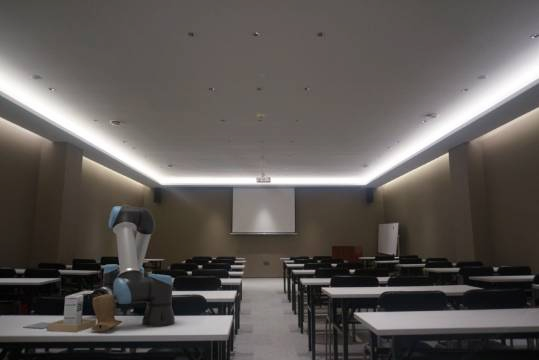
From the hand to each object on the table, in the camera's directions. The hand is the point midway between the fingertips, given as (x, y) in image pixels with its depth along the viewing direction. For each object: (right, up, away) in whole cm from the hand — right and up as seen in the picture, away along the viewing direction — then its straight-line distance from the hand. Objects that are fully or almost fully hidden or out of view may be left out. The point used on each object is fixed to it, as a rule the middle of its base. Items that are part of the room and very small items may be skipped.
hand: (81, 300), depth 184 cm
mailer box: (+3, -10, -5) cm, 12 cm away
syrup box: (+1, -9, -12) cm, 15 cm away
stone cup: (+18, -8, -15) cm, 25 cm away
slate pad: (-15, -10, -6) cm, 19 cm away
